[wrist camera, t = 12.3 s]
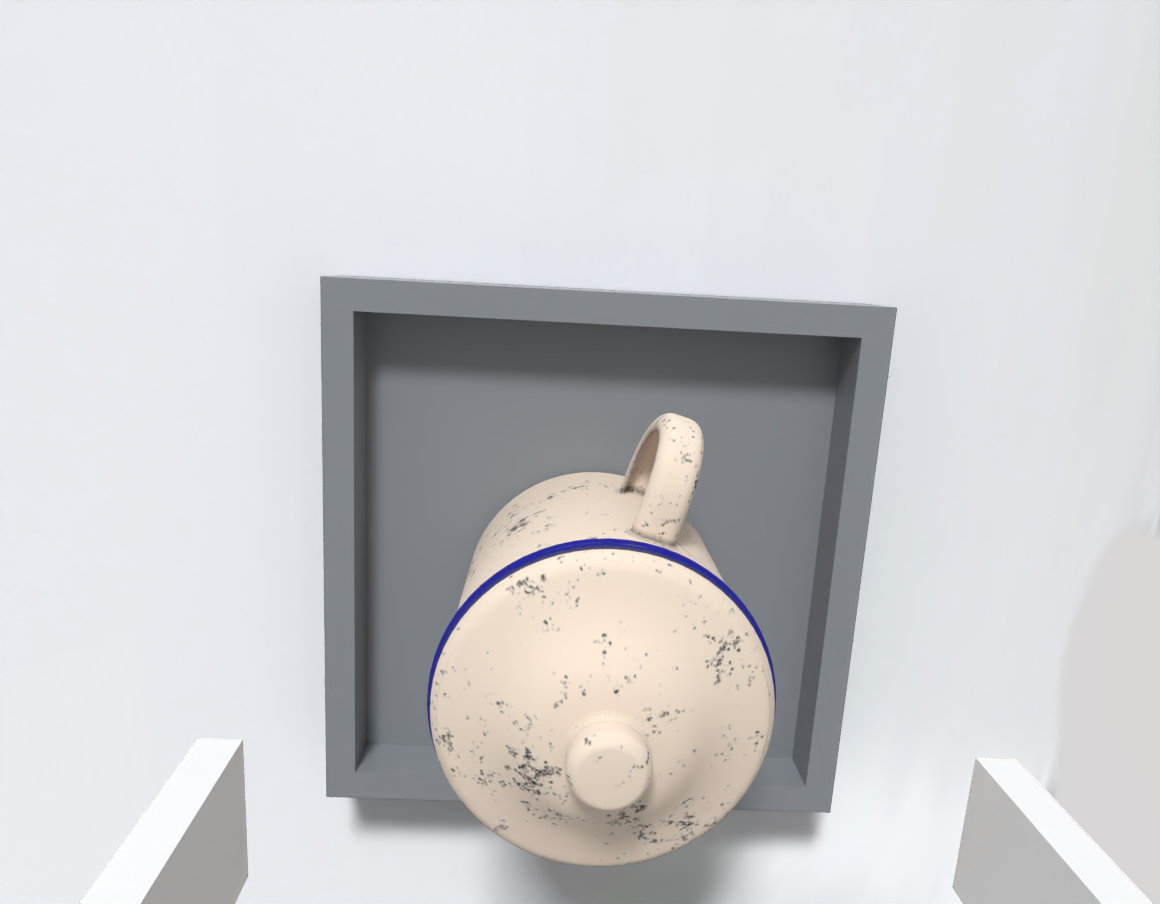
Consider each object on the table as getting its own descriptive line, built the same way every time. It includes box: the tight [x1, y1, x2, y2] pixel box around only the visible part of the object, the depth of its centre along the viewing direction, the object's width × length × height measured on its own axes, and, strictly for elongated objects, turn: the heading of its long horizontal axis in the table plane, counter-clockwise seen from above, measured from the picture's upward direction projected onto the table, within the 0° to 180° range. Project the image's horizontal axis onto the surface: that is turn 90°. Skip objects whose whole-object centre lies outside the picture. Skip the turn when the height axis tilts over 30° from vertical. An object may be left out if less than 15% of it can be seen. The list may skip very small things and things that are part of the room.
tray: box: [320, 276, 897, 813], centre depth 29 cm, size 18×18×3 cm
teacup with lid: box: [427, 413, 776, 866], centre depth 24 cm, size 12×9×12 cm
